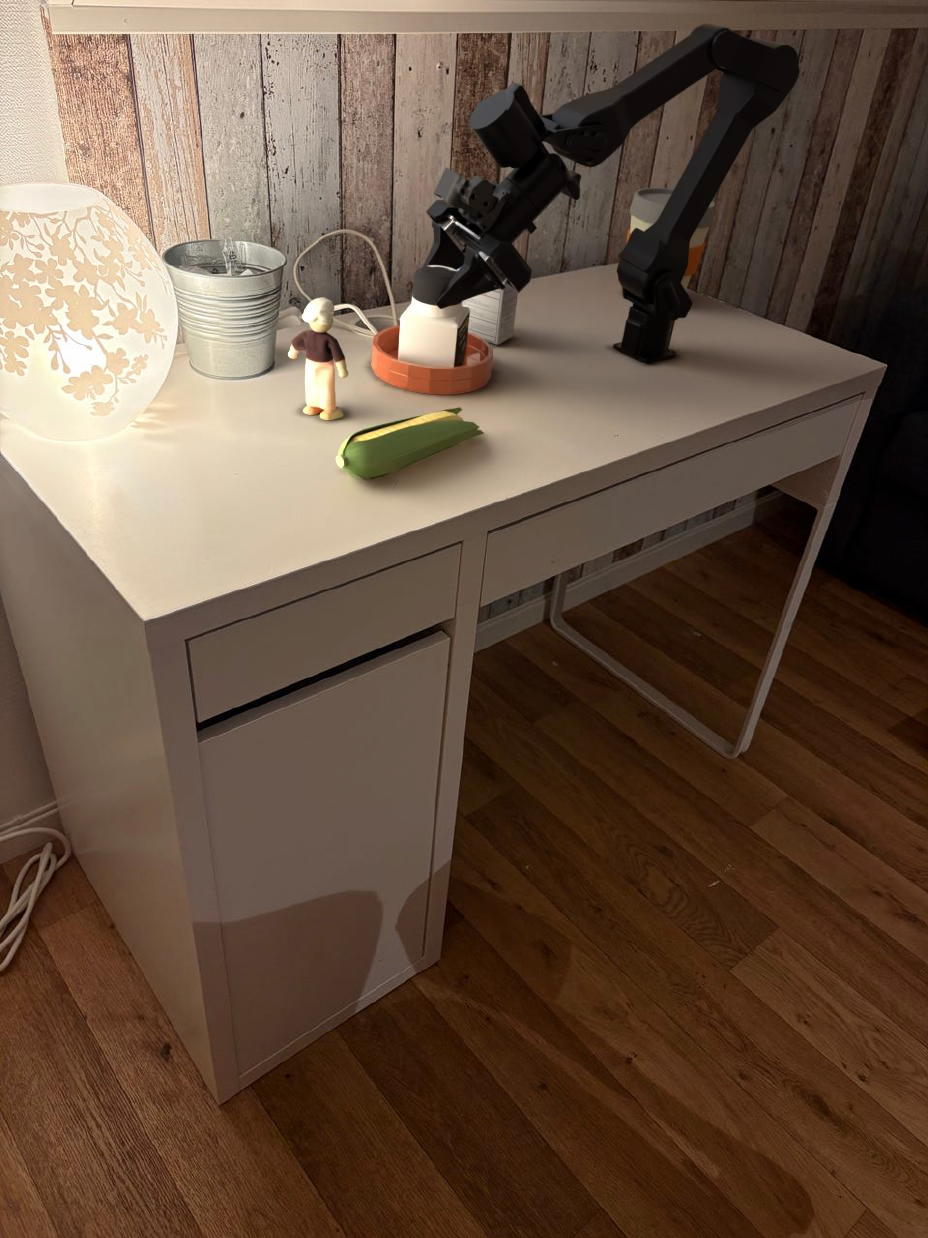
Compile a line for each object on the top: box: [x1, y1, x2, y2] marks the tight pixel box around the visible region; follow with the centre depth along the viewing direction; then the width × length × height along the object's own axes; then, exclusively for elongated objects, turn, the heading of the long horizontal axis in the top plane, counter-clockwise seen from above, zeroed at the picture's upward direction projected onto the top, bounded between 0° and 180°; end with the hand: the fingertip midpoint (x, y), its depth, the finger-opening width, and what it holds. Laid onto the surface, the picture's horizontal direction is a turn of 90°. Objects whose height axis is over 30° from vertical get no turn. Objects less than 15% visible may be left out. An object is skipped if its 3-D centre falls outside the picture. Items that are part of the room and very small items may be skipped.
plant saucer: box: [370, 324, 494, 395], centre depth 120 cm, size 15×15×3 cm
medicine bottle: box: [398, 265, 470, 367], centre depth 117 cm, size 7×7×12 cm
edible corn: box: [335, 406, 485, 480], centre depth 99 cm, size 5×20×5 cm, turn 135°
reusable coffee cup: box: [626, 187, 716, 291], centre depth 149 cm, size 13×13×15 cm
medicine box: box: [457, 267, 519, 346], centre depth 130 cm, size 8×4×9 cm, turn 58°
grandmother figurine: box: [287, 296, 349, 421], centre depth 104 cm, size 8×4×13 cm, turn 71°
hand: (426, 296), depth 115 cm, fingers closed on medicine bottle, 6 cm apart
